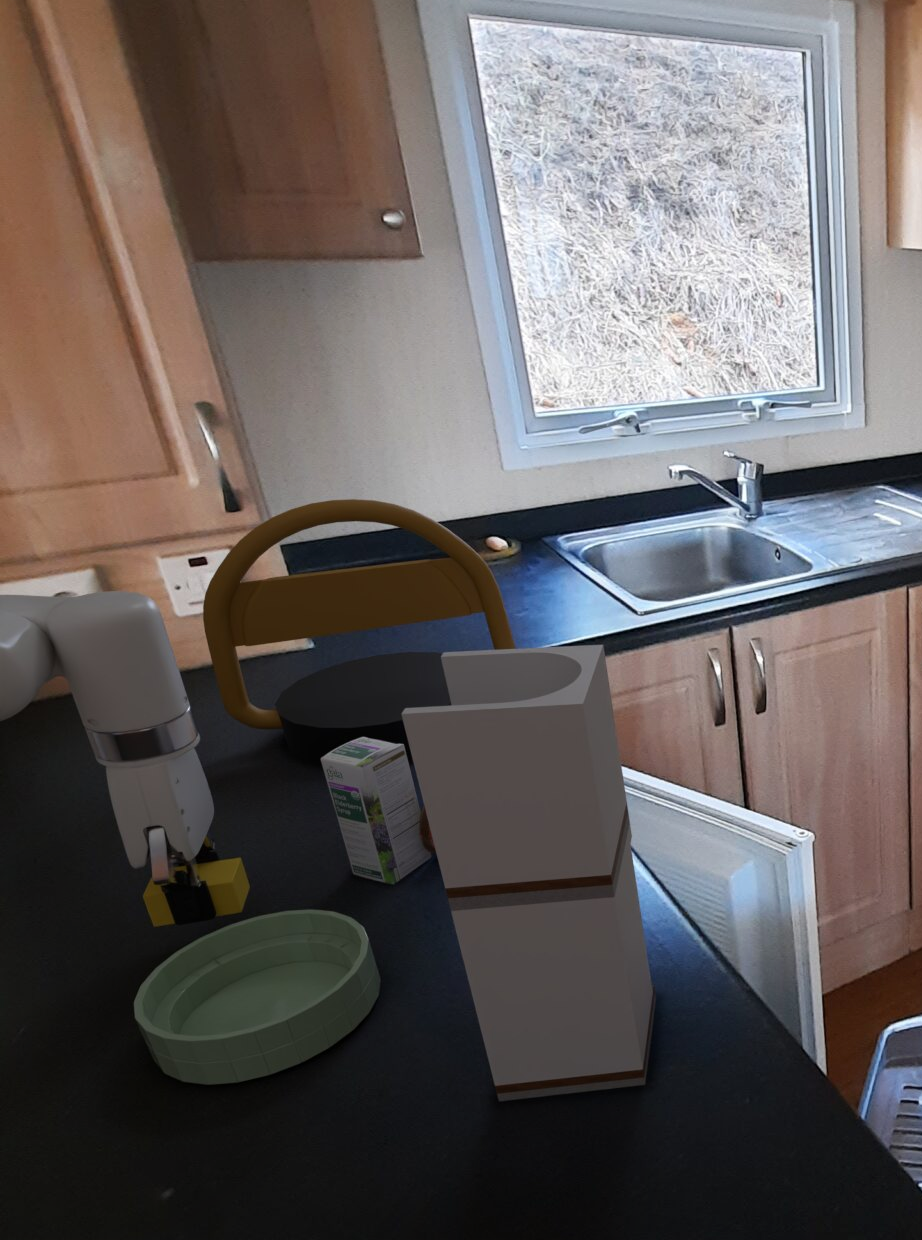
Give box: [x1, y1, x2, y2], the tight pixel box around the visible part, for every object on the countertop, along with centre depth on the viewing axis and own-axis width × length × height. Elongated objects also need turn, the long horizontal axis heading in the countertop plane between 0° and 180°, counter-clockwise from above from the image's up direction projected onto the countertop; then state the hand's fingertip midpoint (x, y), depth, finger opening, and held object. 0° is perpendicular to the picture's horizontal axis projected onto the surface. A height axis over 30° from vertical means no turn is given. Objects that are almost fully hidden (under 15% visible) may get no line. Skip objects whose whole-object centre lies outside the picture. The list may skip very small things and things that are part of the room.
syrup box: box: [321, 737, 432, 885], centre depth 111 cm, size 6×6×14 cm
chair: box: [202, 498, 517, 768], centre depth 136 cm, size 25×35×32 cm
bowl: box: [133, 908, 382, 1086], centre depth 92 cm, size 17×17×6 cm
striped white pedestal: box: [401, 644, 657, 1102], centre depth 82 cm, size 11×11×35 cm
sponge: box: [142, 857, 251, 928], centre depth 99 cm, size 7×4×4 cm, turn 112°
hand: (202, 903), depth 100 cm, fingers closed on sponge, 4 cm apart
